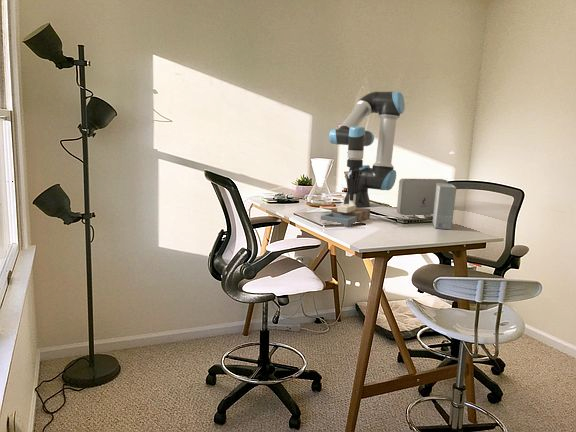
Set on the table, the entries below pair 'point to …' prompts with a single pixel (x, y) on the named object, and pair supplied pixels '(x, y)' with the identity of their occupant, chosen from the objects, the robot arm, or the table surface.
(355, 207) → the tile
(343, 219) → the box
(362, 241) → the table surface
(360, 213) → the bench plate
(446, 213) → the hard drive box
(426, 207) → the network device
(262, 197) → the table surface
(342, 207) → the tile
